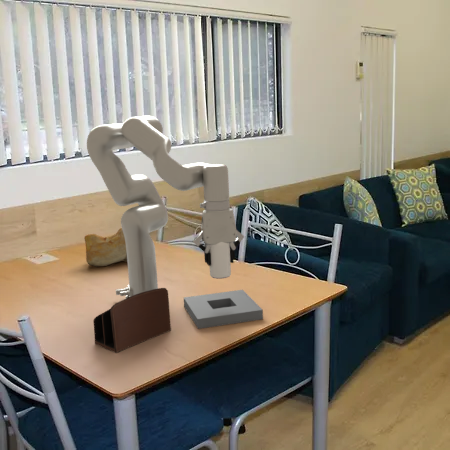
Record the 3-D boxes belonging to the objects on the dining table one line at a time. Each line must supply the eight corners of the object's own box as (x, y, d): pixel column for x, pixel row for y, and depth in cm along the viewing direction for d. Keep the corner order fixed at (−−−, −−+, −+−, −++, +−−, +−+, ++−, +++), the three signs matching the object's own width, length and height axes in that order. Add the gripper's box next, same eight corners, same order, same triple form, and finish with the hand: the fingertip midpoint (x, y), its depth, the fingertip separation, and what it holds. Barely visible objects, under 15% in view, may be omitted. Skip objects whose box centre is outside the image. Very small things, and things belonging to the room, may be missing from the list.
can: (228, 279, 175) (227, 240, 172) (207, 278, 176) (205, 240, 174) (232, 272, 181) (231, 235, 179) (212, 272, 182) (210, 235, 180)
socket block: (198, 328, 169) (197, 319, 169) (184, 306, 188) (183, 297, 188) (262, 319, 175) (262, 309, 174) (242, 298, 193) (242, 289, 193)
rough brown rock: (136, 254, 257) (131, 221, 254) (145, 260, 241) (140, 225, 239) (83, 264, 249) (78, 229, 246) (88, 270, 233) (83, 234, 231)
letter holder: (171, 330, 169) (168, 284, 166) (116, 354, 155) (111, 304, 152) (149, 322, 176) (146, 278, 173) (94, 344, 162) (89, 296, 159)
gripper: (191, 210, 168) (195, 269, 172) (248, 205, 173) (250, 263, 177) (186, 206, 175) (189, 263, 179) (240, 201, 180) (243, 256, 184)
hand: (219, 262), depth 178 cm, fingers closed on can, 6 cm apart
